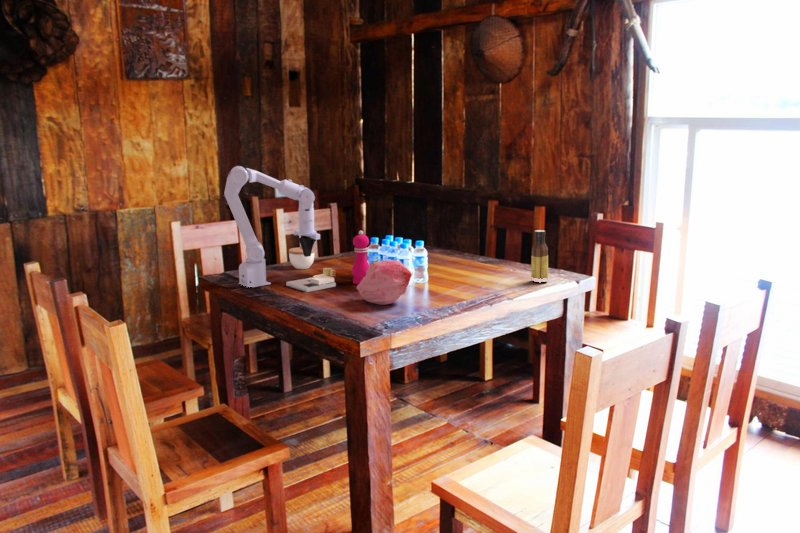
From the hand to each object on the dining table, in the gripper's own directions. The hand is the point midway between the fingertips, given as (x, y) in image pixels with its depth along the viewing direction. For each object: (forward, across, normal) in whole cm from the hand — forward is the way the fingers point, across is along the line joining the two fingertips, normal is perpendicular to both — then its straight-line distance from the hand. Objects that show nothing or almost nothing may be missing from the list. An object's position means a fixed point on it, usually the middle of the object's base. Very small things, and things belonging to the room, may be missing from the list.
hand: (307, 256), depth 259 cm
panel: (+10, -7, +4) cm, 13 cm away
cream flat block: (+8, -10, 0) cm, 13 cm away
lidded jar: (+10, +23, -13) cm, 28 cm away
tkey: (+10, -4, -7) cm, 13 cm away
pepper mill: (+10, -15, -14) cm, 23 cm away
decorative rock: (+10, -43, -1) cm, 44 cm away
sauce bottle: (+10, -59, -66) cm, 89 cm away
